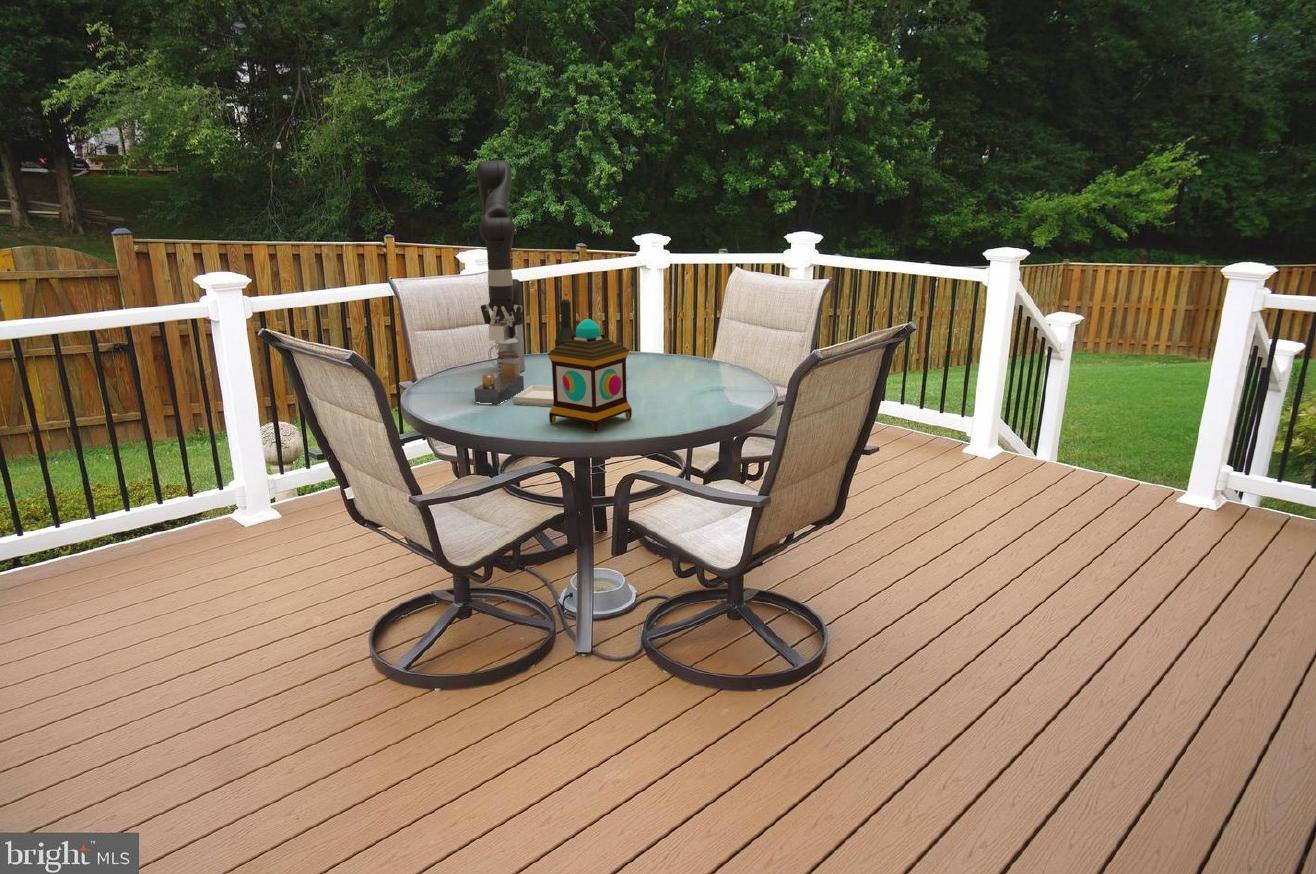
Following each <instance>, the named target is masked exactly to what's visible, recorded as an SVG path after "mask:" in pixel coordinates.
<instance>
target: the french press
mask: <svg viewBox="0 0 1316 874" xmlns="http://www.w3.org/2000/svg"><path fill="white" fill-rule="evenodd" d="M505 319H506V318H505ZM518 342H519V341H518V340H517V339H515V338H513V339H508V340H506V341H494V343H495V345H493V346H491V347H490V348H489V350H488V353H487V354H488V355H487V356H488V360H489V362H490V364H491V365H493V366H494V367H496V375H497V376H499V375H501V365H502V364H504V363H513V364H518V366H519V356H516V355H517V354H518V352H517V351H508V346H507V351H503V352H502V351H501V352H497V355H498V356H497V358H496V363H495V361H494V360H493V359H492V353H491V352H492V350H493V348H494V349H495V350H497V351H498V344H501V345H510V344H516V343H518ZM499 355H500V356H499ZM506 358H512V359H506ZM504 359H506V360H504ZM497 376H496V377H497ZM519 376H521V372H520V366H519Z"/></svg>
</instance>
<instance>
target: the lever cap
mask: <svg viewBox="0 0 1316 874" xmlns="http://www.w3.org/2000/svg"><path fill="white" fill-rule="evenodd" d="M509 327H510V326H509V324H508V321H507V320H506V319H504V321H501V322H498V323H497V322H496V323H493V324H492V325H489V326H488V338H489V339H488V340H489V341H491V342H492V341H493V342H495V341H506V340H508V339H510V338H509ZM515 330H516V331H515V332H516V335H515V336H518V334H517V325H516V326H515ZM515 336H514V337H515Z"/></svg>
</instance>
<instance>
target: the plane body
mask: <svg viewBox="0 0 1316 874" xmlns="http://www.w3.org/2000/svg"><path fill="white" fill-rule="evenodd" d="M481 377H482V379H481V380H482V384H480V385H479V386H476V387H474V389H473V392H474V402H480V403H492V404H500V403H501V402H503V401H505V400H507V401H509V400H510V398H511V397H512V398H513V396H515V395H516V394H518V393H520V392H521V391H523V390H525V385H524V383H525V382H524V375H520V376H519V366H518V364H513V363H504V364H502V365H501V375H499V376H495V374H493V373H486V374H482V375H481ZM512 398H511V399H512ZM508 399H509V400H508ZM500 405H501V404H500Z"/></svg>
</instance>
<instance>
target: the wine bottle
mask: <svg viewBox="0 0 1316 874" xmlns="http://www.w3.org/2000/svg"><path fill="white" fill-rule="evenodd" d="M571 304H572V303H571V301H570V298H562V299H561V301H560V317H561V318H560V321H561V323H560V324H561V327H560V329H559V331H558V334H557V335H556V338H555V340H554V343H555V344H554V348H555V347H556V346H560V345H563V344H564V343H566V342H567V341H568V340H570V339H571V337H572V336H576V331H575V330H574V329H573V327H572V312H571V311H572V310H571Z"/></svg>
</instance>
